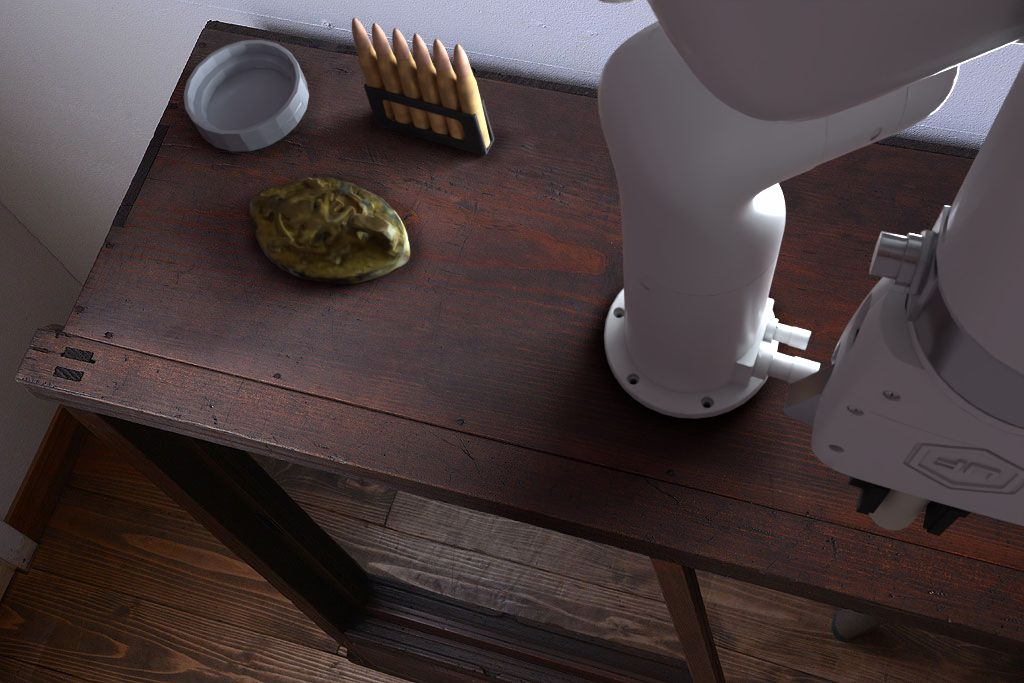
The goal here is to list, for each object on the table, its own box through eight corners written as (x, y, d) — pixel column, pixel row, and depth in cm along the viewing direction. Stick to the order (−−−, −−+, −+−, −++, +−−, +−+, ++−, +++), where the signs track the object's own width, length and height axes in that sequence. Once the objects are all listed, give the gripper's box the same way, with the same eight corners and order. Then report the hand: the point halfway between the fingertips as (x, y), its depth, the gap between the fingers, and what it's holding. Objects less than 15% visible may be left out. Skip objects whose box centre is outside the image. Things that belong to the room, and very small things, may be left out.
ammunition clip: (495, 139, 83) (473, 38, 72) (486, 156, 82) (463, 56, 71) (385, 108, 85) (348, 6, 75) (375, 124, 85) (337, 24, 74)
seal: (232, 262, 81) (392, 308, 77) (207, 238, 77) (375, 285, 73) (277, 167, 84) (434, 207, 80) (254, 138, 80) (419, 178, 76)
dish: (329, 77, 88) (320, 53, 85) (276, 167, 84) (264, 146, 81) (232, 52, 91) (220, 29, 88) (176, 139, 87) (162, 117, 84)
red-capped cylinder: (919, 493, 47) (969, 435, 40) (911, 538, 46) (960, 486, 39) (870, 479, 47) (911, 419, 40) (861, 523, 47) (901, 469, 39)
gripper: (747, 343, 29) (709, 516, 45) (1372, 505, 25) (1081, 631, 41) (804, 144, 32) (749, 375, 48) (1373, 261, 28) (1100, 469, 44)
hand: (903, 492), depth 44 cm, fingers closed on red-capped cylinder, 2 cm apart
